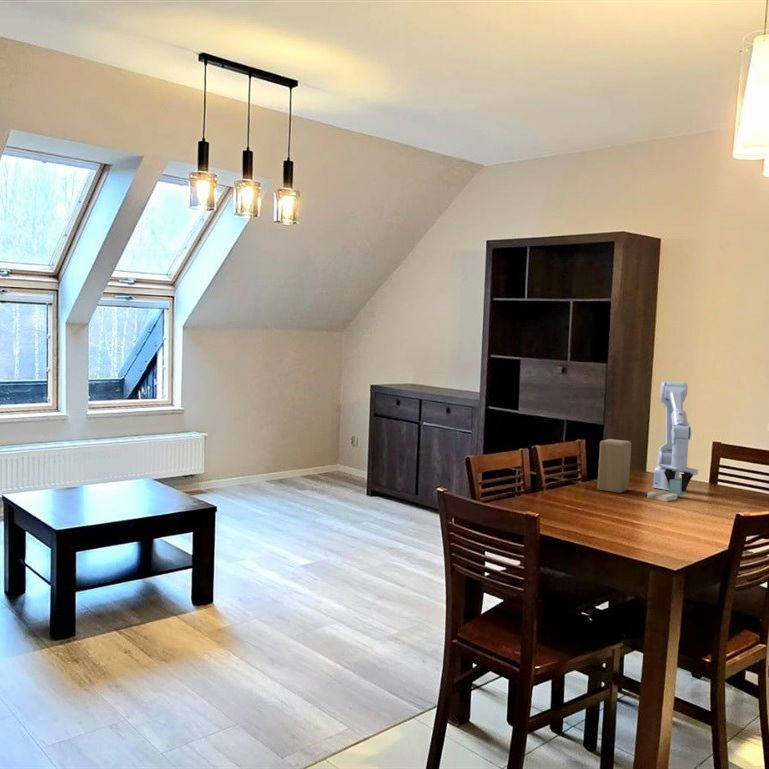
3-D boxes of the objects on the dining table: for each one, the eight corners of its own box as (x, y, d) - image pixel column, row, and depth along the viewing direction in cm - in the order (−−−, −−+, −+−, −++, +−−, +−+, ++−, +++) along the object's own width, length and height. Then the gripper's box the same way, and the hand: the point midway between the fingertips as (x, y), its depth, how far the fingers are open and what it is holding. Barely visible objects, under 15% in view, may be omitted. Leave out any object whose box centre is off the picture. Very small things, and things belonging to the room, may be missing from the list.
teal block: (668, 493, 300) (669, 479, 299) (674, 492, 303) (675, 478, 302) (679, 495, 296) (680, 481, 296) (685, 494, 299) (686, 480, 299)
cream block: (647, 497, 296) (647, 492, 296) (657, 495, 301) (657, 490, 301) (666, 501, 290) (667, 496, 290) (677, 499, 295) (677, 494, 295)
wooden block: (605, 486, 316) (607, 438, 315) (629, 490, 310) (632, 441, 309) (596, 490, 308) (599, 440, 307) (621, 493, 302) (624, 443, 301)
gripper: (657, 453, 301) (654, 488, 302) (692, 459, 290) (690, 494, 291) (665, 452, 306) (663, 486, 307) (701, 457, 295) (699, 492, 296)
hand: (677, 490), depth 299 cm, fingers closed on teal block, 4 cm apart
